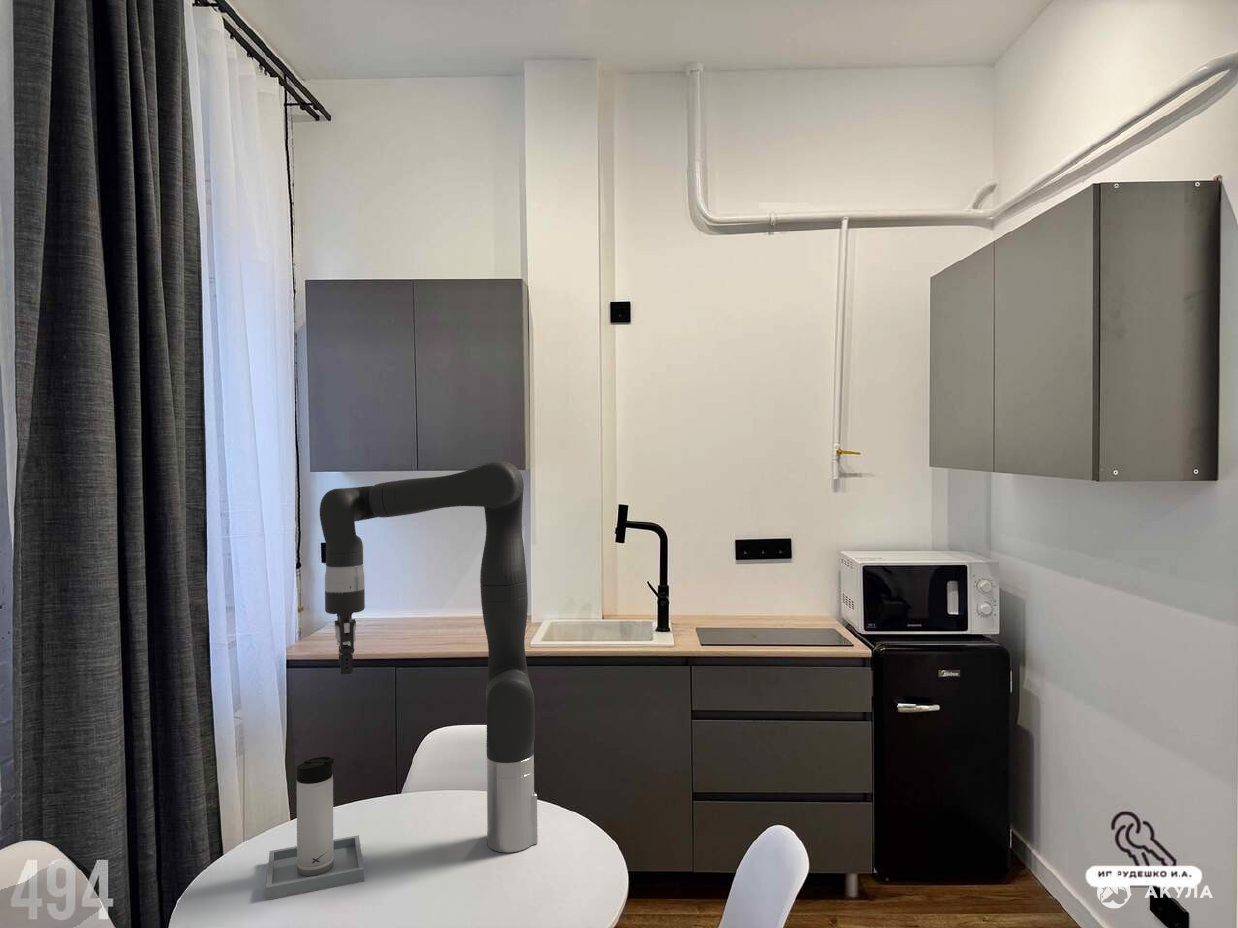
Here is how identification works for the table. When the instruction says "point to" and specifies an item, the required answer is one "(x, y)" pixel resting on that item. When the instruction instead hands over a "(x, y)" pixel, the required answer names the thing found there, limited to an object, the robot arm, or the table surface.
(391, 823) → the table surface
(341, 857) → the tray
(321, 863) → the travel mug
